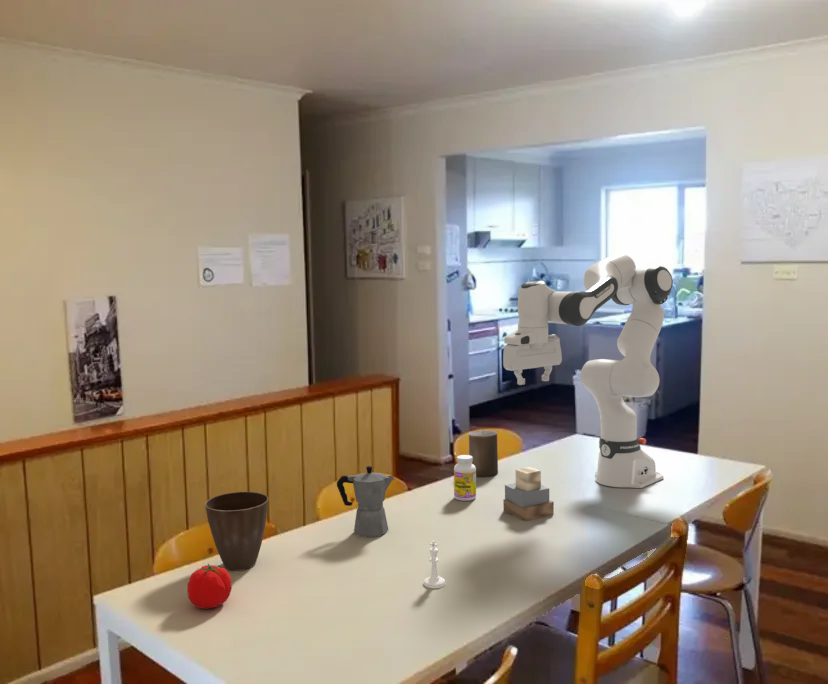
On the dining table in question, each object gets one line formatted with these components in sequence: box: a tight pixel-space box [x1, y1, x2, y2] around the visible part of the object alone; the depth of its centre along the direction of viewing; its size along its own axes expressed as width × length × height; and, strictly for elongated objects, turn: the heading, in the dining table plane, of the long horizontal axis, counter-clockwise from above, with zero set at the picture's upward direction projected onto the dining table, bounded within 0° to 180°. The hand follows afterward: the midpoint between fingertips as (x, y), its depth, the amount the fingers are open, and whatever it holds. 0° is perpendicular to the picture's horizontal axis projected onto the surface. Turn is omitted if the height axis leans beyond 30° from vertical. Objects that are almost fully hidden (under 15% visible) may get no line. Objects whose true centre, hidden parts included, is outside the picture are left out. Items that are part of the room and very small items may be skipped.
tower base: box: [502, 498, 555, 522], centre depth 220 cm, size 10×10×4 cm
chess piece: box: [423, 540, 447, 589], centre depth 174 cm, size 5×5×10 cm
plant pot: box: [204, 491, 269, 571], centre depth 187 cm, size 15×15×16 cm
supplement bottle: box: [453, 454, 477, 502], centre depth 234 cm, size 7×7×13 cm
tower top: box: [504, 482, 550, 507], centre depth 220 cm, size 9×9×4 cm
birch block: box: [515, 466, 542, 491], centre depth 219 cm, size 5×5×5 cm
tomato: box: [187, 563, 233, 609], centre depth 167 cm, size 9×10×8 cm
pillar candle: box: [468, 429, 499, 478], centre depth 260 cm, size 10×10×15 cm
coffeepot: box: [336, 465, 395, 538], centre depth 207 cm, size 15×9×18 cm, turn 92°
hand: (533, 382), depth 230 cm, fingers open, 8 cm apart
